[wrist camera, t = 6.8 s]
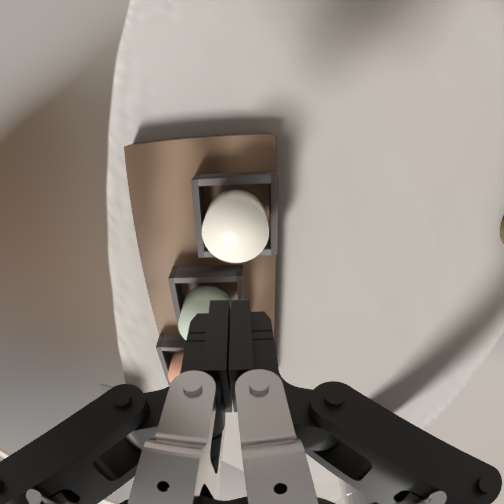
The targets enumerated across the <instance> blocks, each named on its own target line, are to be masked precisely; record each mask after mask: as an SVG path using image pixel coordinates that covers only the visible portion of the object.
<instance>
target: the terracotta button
mask: <svg viewBox="0 0 504 504" xmlns="http://www.w3.org/2000/svg"><path fill="white" fill-rule="evenodd" d="M183 355H184V351H174V352H173V354H172V359H171V363H170V367H169V372H168V379H169V381H170V383H171V382H172V380H173V379H174V378H175V377H176V376H178V375H179V374H180V371H181V366H182V360H183Z"/></svg>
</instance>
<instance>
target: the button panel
mask: <svg viewBox="0 0 504 504" xmlns="http://www.w3.org/2000/svg"><path fill="white" fill-rule="evenodd" d="M124 151H125V161H126V170H127V178H128V186H129V193H130V200H131V207H132V213H133V219H134V225H135V231H136V236H137V242H138V247H139V252H140V257H141V262H142V267H143V272H144V276H145V281H146V285H147V289H148V293H149V298H150V302H151V306H152V310H153V313H154V317H155V321H156V325H157V328H158V332H159V339H158V342H157V346H156V349H157V352H158V355H159V358H160V361H161V364H162V367H163V370H164V373H165V376H166V379H167V381H168V384H169V385H170V384H171V383H170V381H169V379H168V372H169V367H170V363H171V359H172V354H173V352H174V351H184V350H185V345H186V340H185V339H184V338H183V337H182V335H181V334H180V332H179V329H178V322H179V318H180V314H181V310H182V307H183V303H184V299H185V297H186V295H187V294H188V293H189V292H190V291H191V290H192V289H194V288H196V287H199V286H205V285H208V286H215V287H218V288H220V289H222V290H224V291H225V292H226V293H227V294H228V295H229V296H230V297H231V299H250V311H251V312H258V311H265V313H266V314H267V315H268V316H269V318H270V319H271V322H272V329H273V336H274V319H275V274H276V255H277V252H278V176H277V174H276V135H275V134H237V135H217V136H202V137H189V138H179V139H169V140H160V141H152V142H144V143H137V144H131V145H128V146H124ZM232 189H240V190H245V191H248V192H250V193H252V194H253V195H255V196H256V197H257V198H258V199H259V200H260V202H261V203H262V205H263V207H264V210H265V213H266V217H267V221H268V226H269V238H268V242H267V244H266V246H265V248H264V249H263V251H262V252H261V253H260V254H259V255H257V256H256V257H255V258H253V259H251V260H249V261H246V262H242V263H230V262H225V261H223V260H220V259H218V258H217V257H215V256H214V255H213V254H211V253H210V251H209V250H208V249H207V247H206V246H205V244H204V241H203V238H202V225H203V222H204V219H205V216H206V213H207V210H208V207H209V205H210V203H211V202H212V200H213V199H214V198H215V197H216V196H217V195H219V194H220V193H222V192H224V191H227V190H232Z"/></svg>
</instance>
